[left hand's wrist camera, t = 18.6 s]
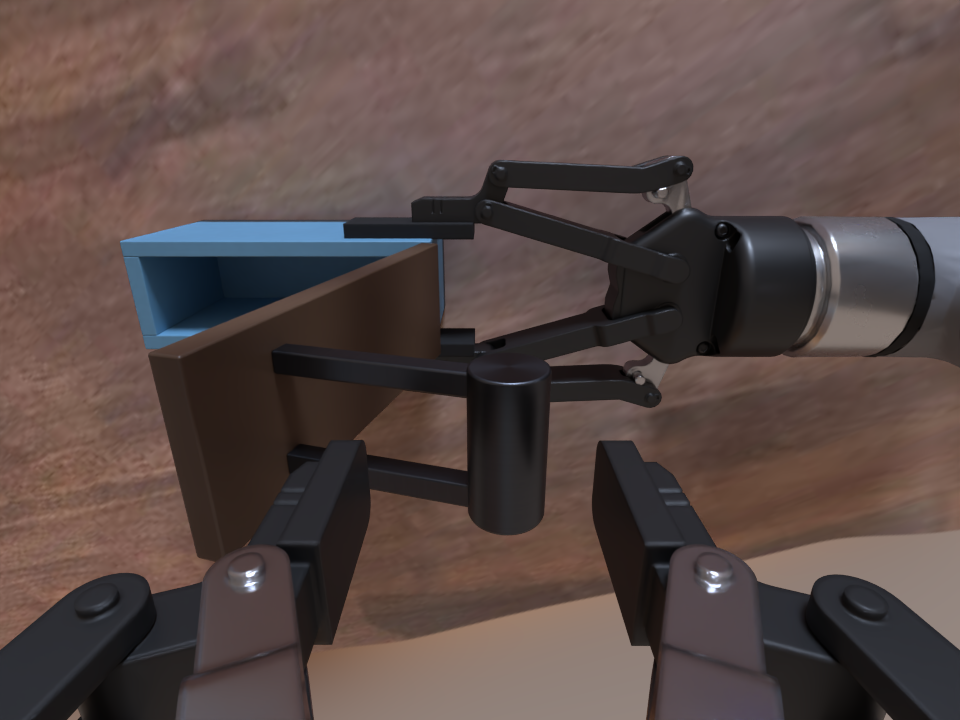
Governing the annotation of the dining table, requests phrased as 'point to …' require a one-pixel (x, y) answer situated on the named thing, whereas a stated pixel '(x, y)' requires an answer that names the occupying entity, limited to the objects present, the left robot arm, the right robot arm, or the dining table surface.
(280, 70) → the dining table surface
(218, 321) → the chest
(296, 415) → the lid
